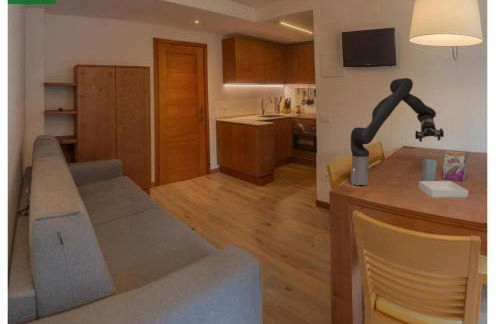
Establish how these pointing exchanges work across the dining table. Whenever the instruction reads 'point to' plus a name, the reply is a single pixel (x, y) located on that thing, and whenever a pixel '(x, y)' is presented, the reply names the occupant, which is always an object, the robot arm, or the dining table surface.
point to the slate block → (429, 170)
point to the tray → (443, 189)
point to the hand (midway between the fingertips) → (429, 139)
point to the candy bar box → (454, 165)
